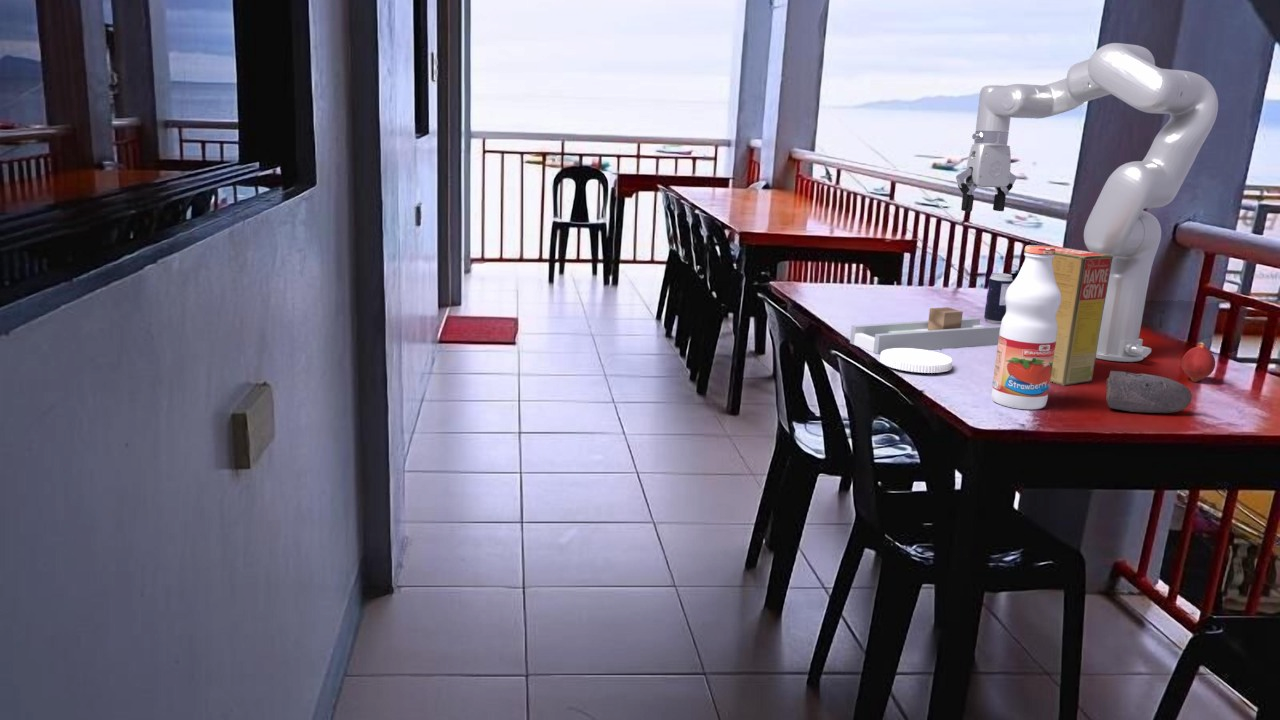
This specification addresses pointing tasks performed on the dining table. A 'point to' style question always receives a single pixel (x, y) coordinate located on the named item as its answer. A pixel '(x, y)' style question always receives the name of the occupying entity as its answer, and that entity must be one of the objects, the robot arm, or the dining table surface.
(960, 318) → the walnut block
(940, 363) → the plastic lid
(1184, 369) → the onion
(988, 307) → the beverage can
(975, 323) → the trap track
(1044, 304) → the fruit juice
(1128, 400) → the perforated stone tool
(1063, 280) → the food packaging
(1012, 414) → the dining table surface
